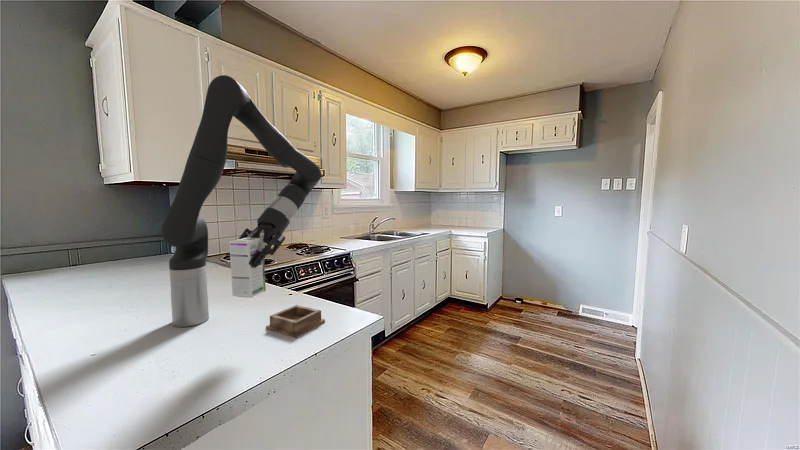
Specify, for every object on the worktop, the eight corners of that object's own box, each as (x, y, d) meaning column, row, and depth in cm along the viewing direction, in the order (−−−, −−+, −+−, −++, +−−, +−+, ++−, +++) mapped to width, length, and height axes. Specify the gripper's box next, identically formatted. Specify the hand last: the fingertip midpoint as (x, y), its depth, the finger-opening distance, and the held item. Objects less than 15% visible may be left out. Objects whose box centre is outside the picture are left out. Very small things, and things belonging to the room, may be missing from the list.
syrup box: (251, 298, 76) (249, 241, 75) (231, 296, 77) (228, 240, 76) (266, 291, 82) (264, 237, 80) (246, 289, 83) (244, 236, 81)
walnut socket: (265, 328, 89) (265, 316, 89) (296, 314, 100) (296, 303, 100) (295, 337, 84) (295, 324, 84) (325, 321, 95) (324, 310, 94)
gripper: (252, 205, 87) (213, 253, 78) (289, 207, 81) (251, 259, 71) (268, 222, 92) (234, 268, 83) (304, 225, 86) (270, 275, 77)
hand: (242, 264), depth 77 cm, fingers closed on syrup box, 6 cm apart
